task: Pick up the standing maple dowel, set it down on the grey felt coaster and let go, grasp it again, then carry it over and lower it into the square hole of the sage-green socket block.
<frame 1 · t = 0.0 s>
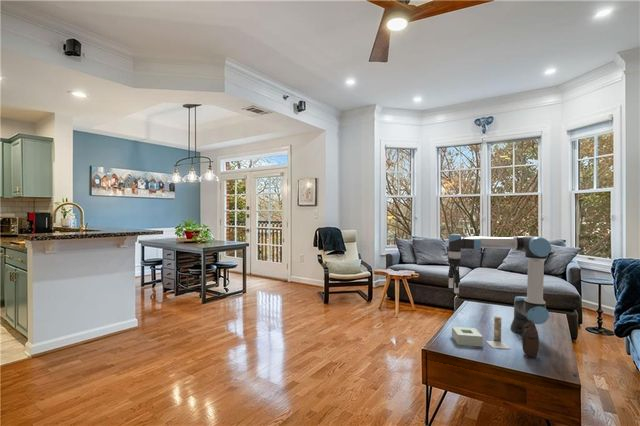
hand: (453, 290, 219), 28 cm above the table, fingers open, 13 cm apart
coaster: (497, 345, 200), on the table
socket block: (466, 341, 206), on the table
peg: (497, 339, 209), on the table
alarm clock: (529, 356, 186), on the table
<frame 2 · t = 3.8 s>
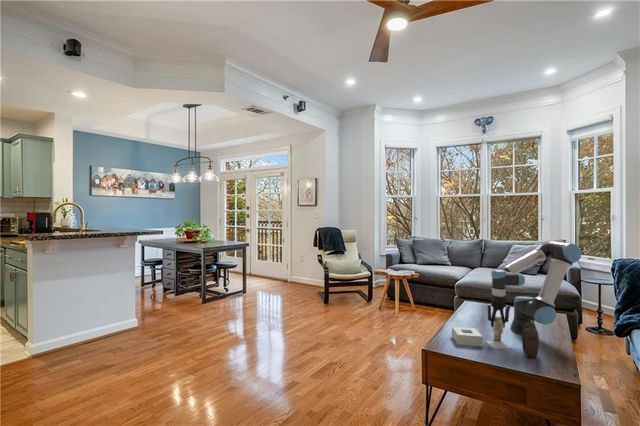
hand: (497, 332, 209), 5 cm above the table, fingers closed on peg, 4 cm apart
peg: (497, 339, 209), on the table, touching gripper
everything else where it was.
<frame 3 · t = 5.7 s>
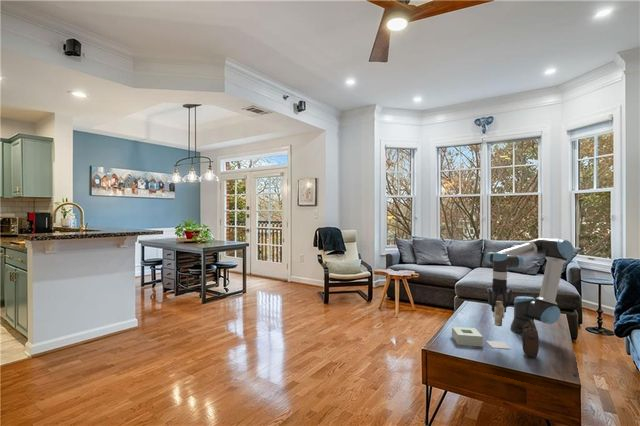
hand: (498, 317, 200), 17 cm above the table, fingers closed on peg, 4 cm apart
peg: (498, 325, 200), point 12 cm above the table, touching gripper
everything else where it was.
when the fingers open (6 cm above the table, at t = 7.7 s): peg stays where it is, resting on coaster.
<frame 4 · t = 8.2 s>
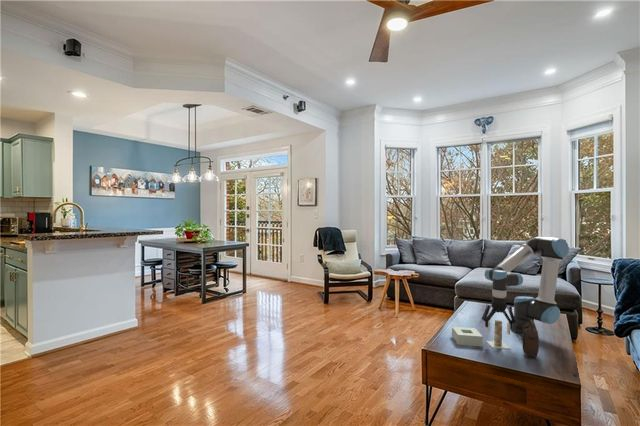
hand: (498, 333, 200), 7 cm above the table, fingers open, 11 cm apart
peg: (497, 344, 200), resting on coaster
everything else where it was.
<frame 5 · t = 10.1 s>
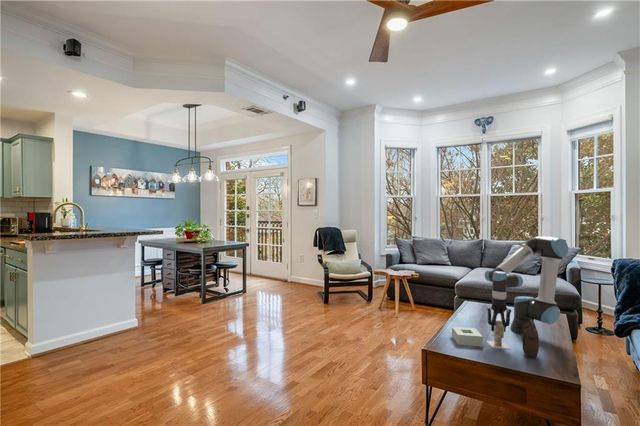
hand: (498, 336, 200), 5 cm above the table, fingers closed on peg, 4 cm apart
peg: (497, 344, 200), resting on coaster, touching gripper
everything else where it was.
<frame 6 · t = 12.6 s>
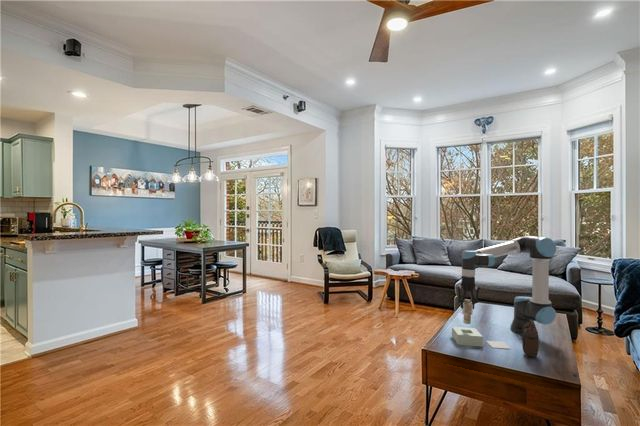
hand: (467, 313, 205), 17 cm above the table, fingers closed on peg, 4 cm apart
peg: (466, 322, 205), point 11 cm above the table, touching gripper
everything else where it was.
when the fingers open (7 cm above the table, at t = 14.9 s): peg drops 2 cm, resting in socket block.
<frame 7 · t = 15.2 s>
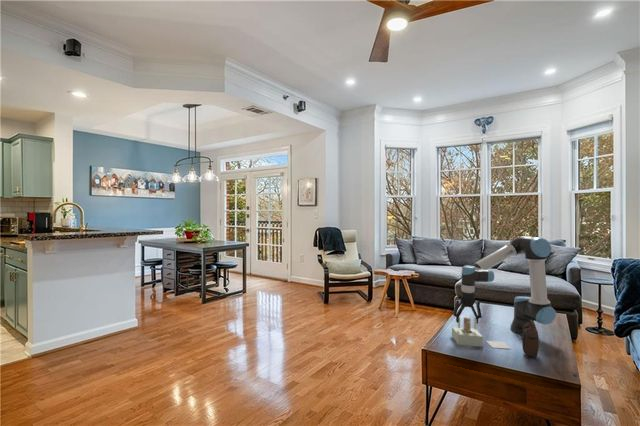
hand: (466, 328, 206), 8 cm above the table, fingers open, 9 cm apart
peg: (466, 341, 206), resting in socket block
everything else where it was.
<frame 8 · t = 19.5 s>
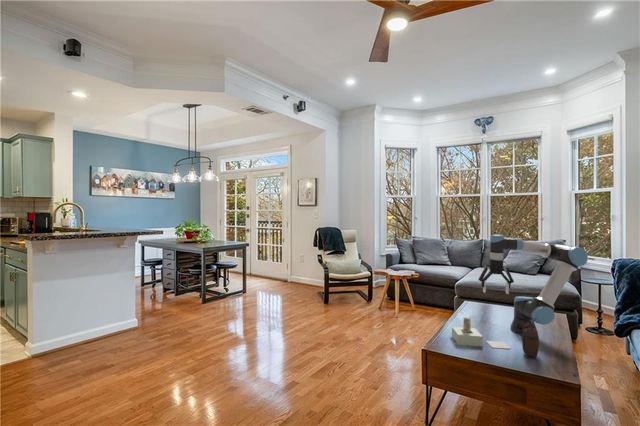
hand: (495, 293, 211), 29 cm above the table, fingers open, 13 cm apart
nothing on the table moved.
at the end: peg 0.0 cm off-centre on the socket block, point 0.0 cm above the socket block's base; peg tilted 0°; the gripper is holding nothing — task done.
